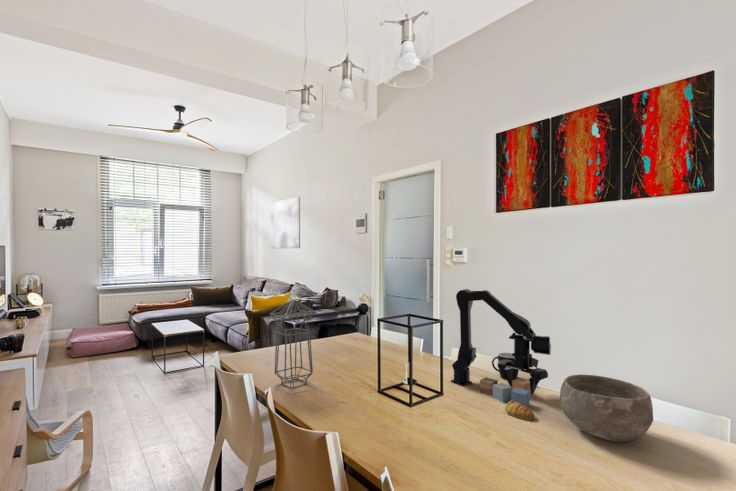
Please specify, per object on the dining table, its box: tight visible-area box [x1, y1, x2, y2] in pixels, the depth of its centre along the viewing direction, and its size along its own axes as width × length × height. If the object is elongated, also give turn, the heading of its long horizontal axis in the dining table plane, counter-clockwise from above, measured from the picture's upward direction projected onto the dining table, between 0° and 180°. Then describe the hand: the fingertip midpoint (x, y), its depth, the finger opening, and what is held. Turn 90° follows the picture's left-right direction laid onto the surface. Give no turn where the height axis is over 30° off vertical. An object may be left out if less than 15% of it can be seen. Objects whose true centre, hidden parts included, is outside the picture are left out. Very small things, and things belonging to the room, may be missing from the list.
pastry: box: [504, 401, 535, 421], centre depth 130 cm, size 9×7×4 cm
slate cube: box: [492, 382, 512, 403], centre depth 144 cm, size 5×5×5 cm
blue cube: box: [511, 388, 531, 407], centre depth 139 cm, size 5×5×5 cm
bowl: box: [559, 374, 654, 442], centre depth 117 cm, size 24×24×15 cm
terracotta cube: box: [512, 378, 532, 395], centre depth 150 cm, size 5×5×5 cm
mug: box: [491, 352, 520, 381], centre depth 170 cm, size 12×9×10 cm
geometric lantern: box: [269, 299, 318, 389], centre depth 159 cm, size 16×16×35 cm
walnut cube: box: [479, 377, 499, 397], centre depth 151 cm, size 5×5×5 cm
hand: (521, 390), depth 150 cm, fingers open, 9 cm apart
